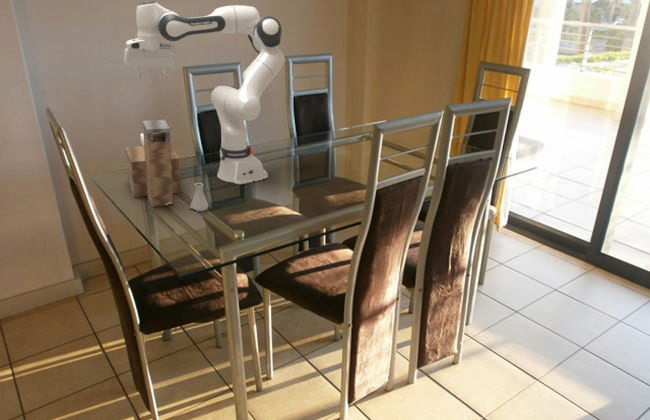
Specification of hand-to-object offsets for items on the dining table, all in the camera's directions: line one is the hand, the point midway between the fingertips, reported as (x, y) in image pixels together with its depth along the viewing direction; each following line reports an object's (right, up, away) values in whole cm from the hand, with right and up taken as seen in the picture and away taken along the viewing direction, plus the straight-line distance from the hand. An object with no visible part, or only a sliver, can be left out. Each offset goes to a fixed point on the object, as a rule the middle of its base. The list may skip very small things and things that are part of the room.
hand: (150, 77), depth 217 cm
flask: (+24, -55, -16) cm, 63 cm away
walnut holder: (+5, -49, -8) cm, 49 cm away
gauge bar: (+2, -31, -8) cm, 32 cm away
